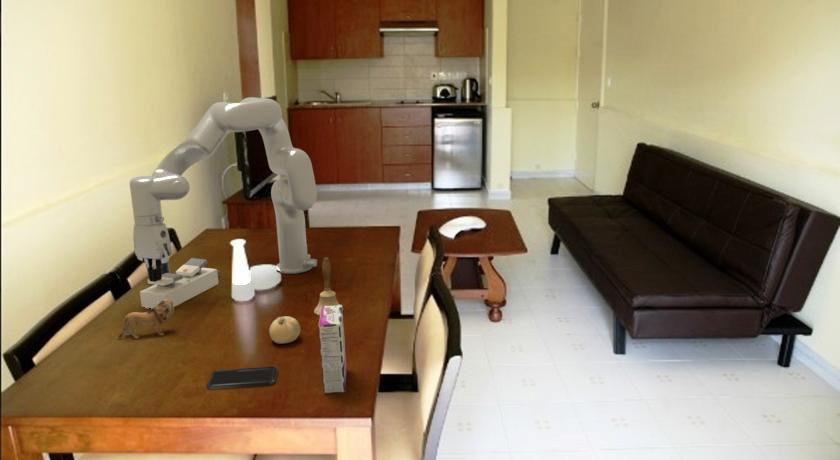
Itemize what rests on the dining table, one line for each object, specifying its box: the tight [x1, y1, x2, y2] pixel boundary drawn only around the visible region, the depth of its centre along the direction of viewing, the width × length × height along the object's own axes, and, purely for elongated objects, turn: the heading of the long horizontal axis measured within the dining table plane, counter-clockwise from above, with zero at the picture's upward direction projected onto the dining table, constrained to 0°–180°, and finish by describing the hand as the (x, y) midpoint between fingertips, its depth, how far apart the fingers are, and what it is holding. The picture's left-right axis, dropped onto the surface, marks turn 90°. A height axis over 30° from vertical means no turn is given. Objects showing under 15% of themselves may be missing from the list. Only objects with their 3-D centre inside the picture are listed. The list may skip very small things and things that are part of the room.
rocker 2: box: [175, 257, 209, 276], centre depth 206 cm, size 6×8×2 cm
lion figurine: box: [117, 299, 175, 340], centre depth 174 cm, size 15×5×9 cm, turn 114°
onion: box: [268, 315, 301, 345], centre depth 168 cm, size 8×8×7 cm
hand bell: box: [313, 256, 344, 317], centre depth 186 cm, size 8×8×16 cm
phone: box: [206, 366, 279, 390], centre depth 150 cm, size 8×1×15 cm
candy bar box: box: [318, 304, 348, 394], centre depth 145 cm, size 11×5×16 cm, turn 5°
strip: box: [139, 267, 221, 310], centre depth 205 cm, size 9×30×6 cm, turn 159°
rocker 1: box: [147, 272, 183, 286], centre depth 196 cm, size 6×8×2 cm
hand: (155, 280), depth 192 cm, fingers closed
